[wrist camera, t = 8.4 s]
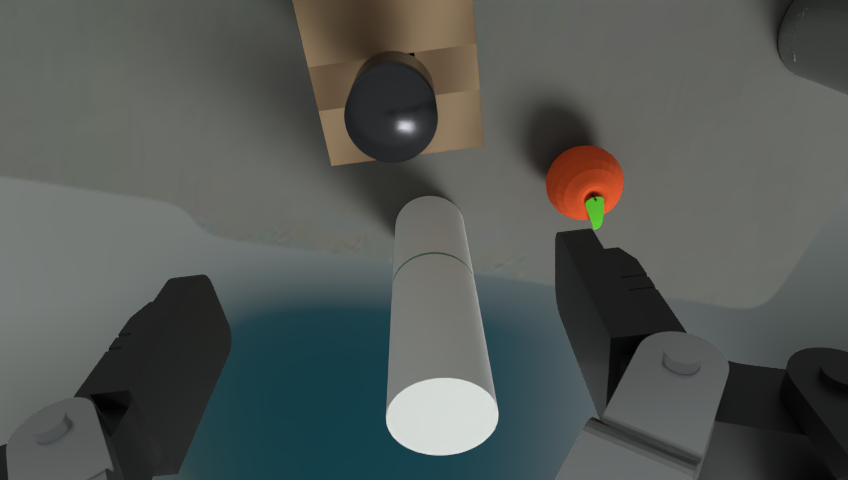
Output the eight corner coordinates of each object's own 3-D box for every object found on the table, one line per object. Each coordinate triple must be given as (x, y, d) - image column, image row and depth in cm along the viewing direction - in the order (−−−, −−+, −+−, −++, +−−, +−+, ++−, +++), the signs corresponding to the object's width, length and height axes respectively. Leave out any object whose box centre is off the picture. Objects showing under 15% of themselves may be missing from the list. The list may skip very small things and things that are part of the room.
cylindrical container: (399, 258, 57) (393, 459, 35) (391, 199, 53) (378, 383, 32) (465, 252, 57) (499, 450, 35) (461, 192, 53) (496, 372, 32)
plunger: (437, -27, 41) (465, 19, 21) (447, 65, 45) (479, 182, 24) (349, -14, 41) (289, 44, 21) (365, 76, 45) (328, 201, 24)
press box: (464, -69, 42) (499, -66, 25) (476, 84, 48) (511, 166, 31) (314, -46, 42) (254, -29, 26) (345, 102, 48) (312, 192, 32)
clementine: (615, 197, 54) (641, 232, 48) (548, 216, 55) (565, 253, 49) (604, 125, 50) (631, 153, 44) (532, 147, 51) (549, 177, 45)
